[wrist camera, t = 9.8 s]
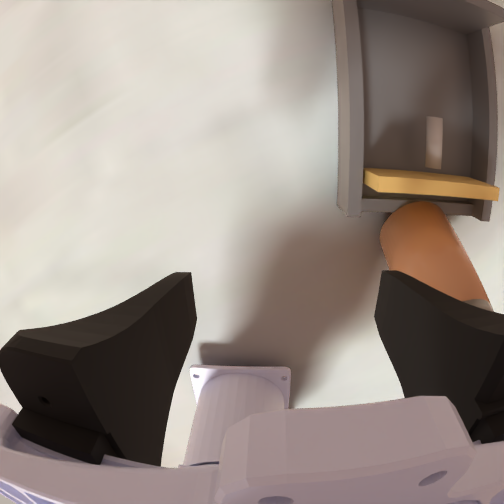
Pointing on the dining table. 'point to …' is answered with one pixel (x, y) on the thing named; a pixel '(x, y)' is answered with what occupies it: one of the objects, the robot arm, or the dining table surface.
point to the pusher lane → (414, 96)
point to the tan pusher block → (429, 174)
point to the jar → (431, 252)
